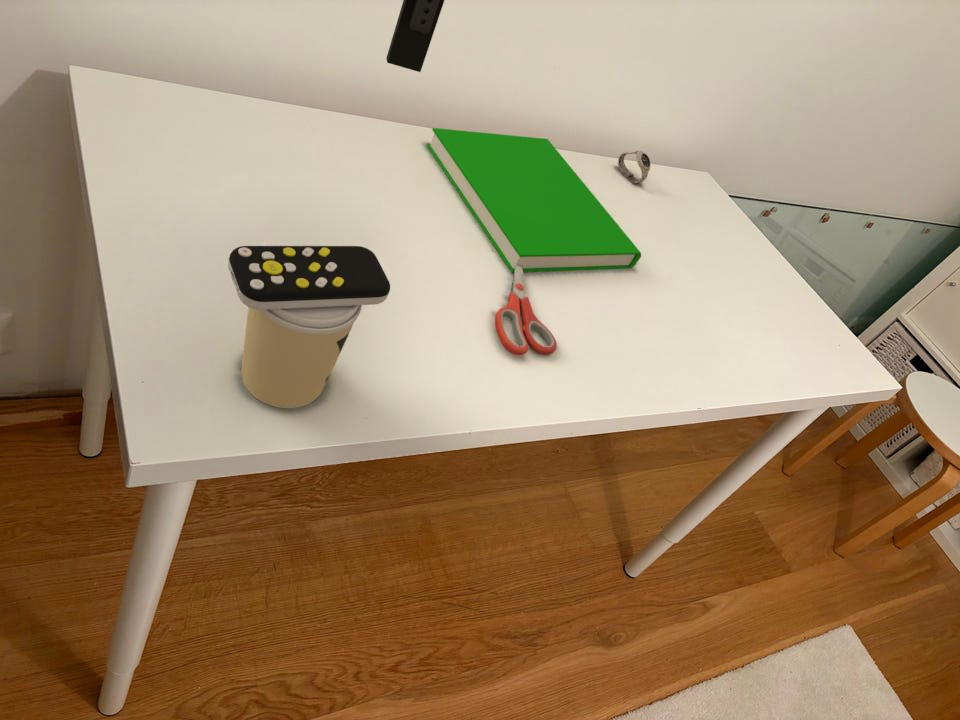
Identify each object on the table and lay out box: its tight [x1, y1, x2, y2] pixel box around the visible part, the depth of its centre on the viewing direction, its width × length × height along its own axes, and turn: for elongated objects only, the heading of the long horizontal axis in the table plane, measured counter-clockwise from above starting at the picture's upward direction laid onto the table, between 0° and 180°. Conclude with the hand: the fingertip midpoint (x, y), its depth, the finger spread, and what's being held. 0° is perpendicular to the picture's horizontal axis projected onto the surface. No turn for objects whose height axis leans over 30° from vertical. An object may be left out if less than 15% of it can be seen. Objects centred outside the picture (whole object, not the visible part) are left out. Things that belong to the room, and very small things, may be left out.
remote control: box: [227, 245, 391, 310], centre depth 60 cm, size 6×13×2 cm, turn 117°
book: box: [426, 127, 642, 274], centre depth 107 cm, size 22×28×3 cm
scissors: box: [494, 265, 557, 356], centre depth 90 cm, size 8×21×2 cm, turn 11°
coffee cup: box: [241, 305, 363, 409], centre depth 64 cm, size 9×9×12 cm
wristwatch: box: [617, 150, 652, 184], centre depth 126 cm, size 4×6×5 cm, turn 42°
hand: (394, 27), depth 61 cm, fingers open, 13 cm apart
